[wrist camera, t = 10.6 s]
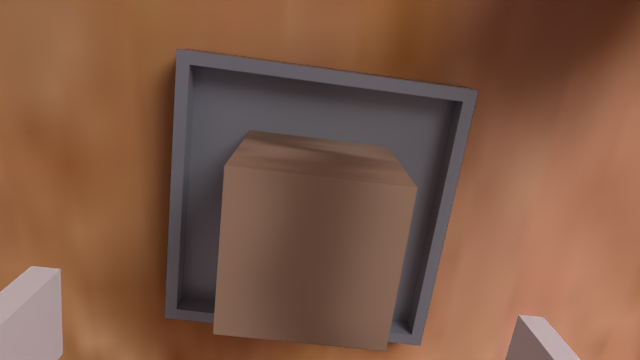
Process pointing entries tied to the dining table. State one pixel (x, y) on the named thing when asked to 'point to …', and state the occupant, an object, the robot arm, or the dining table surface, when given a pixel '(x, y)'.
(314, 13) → the dining table surface
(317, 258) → the walnut cube
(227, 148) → the slate tray
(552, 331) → the robot arm
